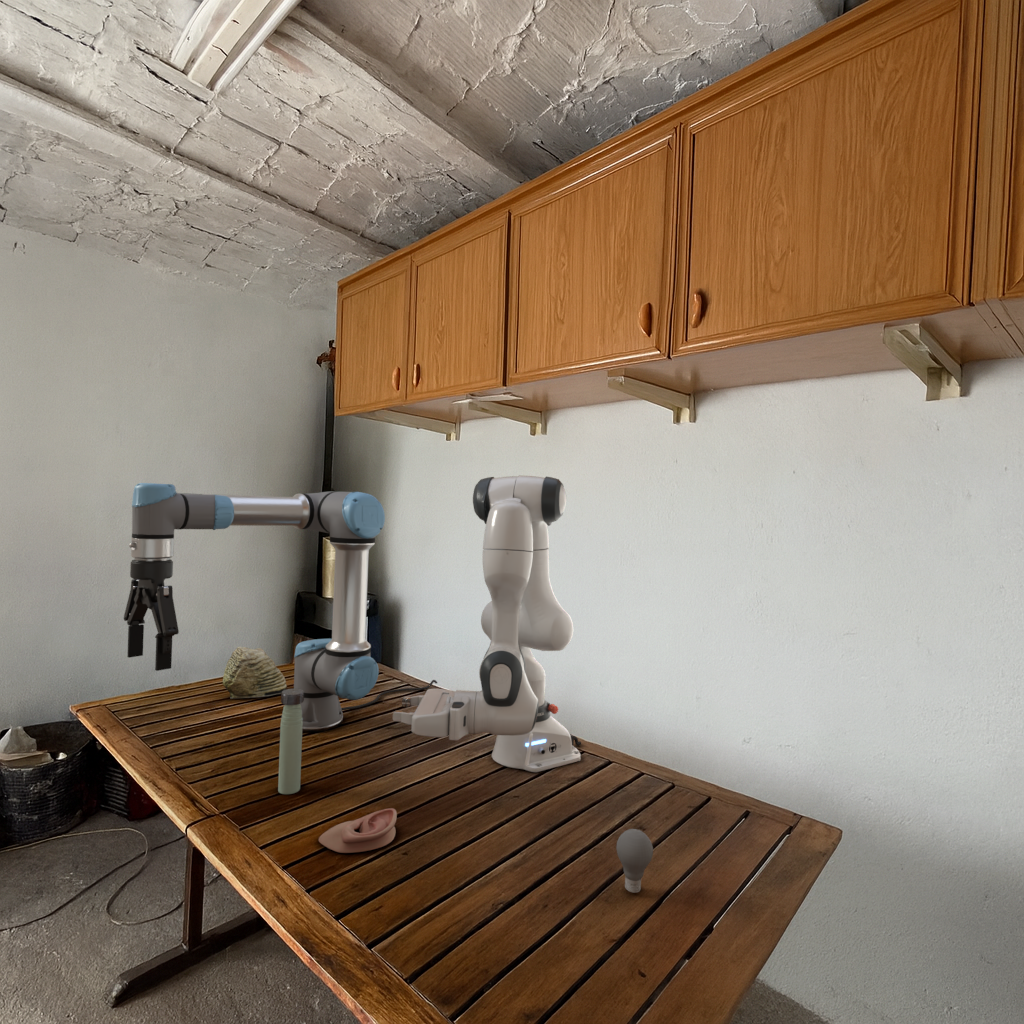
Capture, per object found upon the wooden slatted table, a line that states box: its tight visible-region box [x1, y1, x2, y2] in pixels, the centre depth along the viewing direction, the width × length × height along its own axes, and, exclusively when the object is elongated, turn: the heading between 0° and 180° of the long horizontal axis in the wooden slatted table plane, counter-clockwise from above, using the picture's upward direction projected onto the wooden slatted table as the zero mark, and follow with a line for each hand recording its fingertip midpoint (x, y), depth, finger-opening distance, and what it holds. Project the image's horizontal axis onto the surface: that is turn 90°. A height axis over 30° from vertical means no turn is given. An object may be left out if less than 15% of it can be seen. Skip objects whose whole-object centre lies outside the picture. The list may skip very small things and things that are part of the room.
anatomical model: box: [318, 807, 398, 854], centre depth 118 cm, size 13×4×12 cm
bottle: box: [277, 704, 303, 795], centre depth 136 cm, size 4×4×21 cm
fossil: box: [222, 646, 288, 699], centre depth 198 cm, size 9×18×15 cm, turn 132°
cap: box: [280, 688, 304, 705], centre depth 136 cm, size 4×5×2 cm
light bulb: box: [615, 828, 654, 894], centre depth 106 cm, size 6×6×10 cm
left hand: (148, 662), depth 129 cm, fingers open, 13 cm apart
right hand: (398, 708), depth 136 cm, fingers open, 8 cm apart
